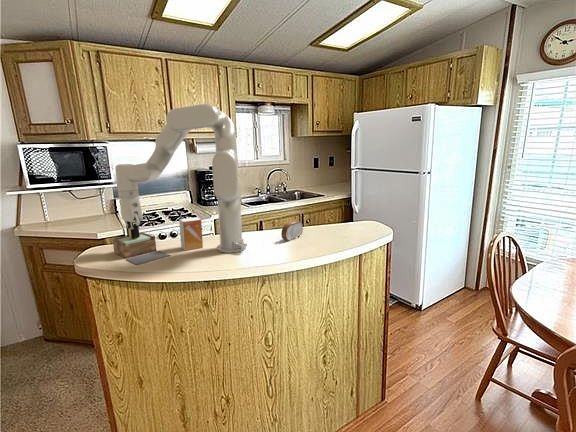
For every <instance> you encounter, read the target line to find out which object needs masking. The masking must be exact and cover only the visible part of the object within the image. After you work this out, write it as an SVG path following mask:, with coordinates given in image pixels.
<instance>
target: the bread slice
mask: <svg viewBox="0 0 576 432" xmlns="http://www.w3.org/2000/svg"><path fill="white" fill-rule="evenodd" d="M303 230H304V225H303V223H302V221H298V220H293V221H289V222H286V223H285V224H284V225H283V226H282V229H281V238H282V239H283V240H284V241H286V242H287V241H288V242H290V240H291V241H293V240H295V239H294V238H296V237H298V236H300V235H301V236H302V234H303ZM301 236H300V237H301ZM298 238H299V237H298ZM292 239H293V240H292ZM296 239H297V238H296Z"/></svg>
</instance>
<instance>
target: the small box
mask: <svg viewBox="0 0 576 432" xmlns="http://www.w3.org/2000/svg"><path fill="white" fill-rule="evenodd" d="M178 222H179V236H180V237H179V238H180V247H181V249H182V250H184V251H190V250H198V249H204V242H203V228H202V227H203V226H202V224H203V223H202V218H199V217H197V216H196V217H187V218H181V219H178Z"/></svg>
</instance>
